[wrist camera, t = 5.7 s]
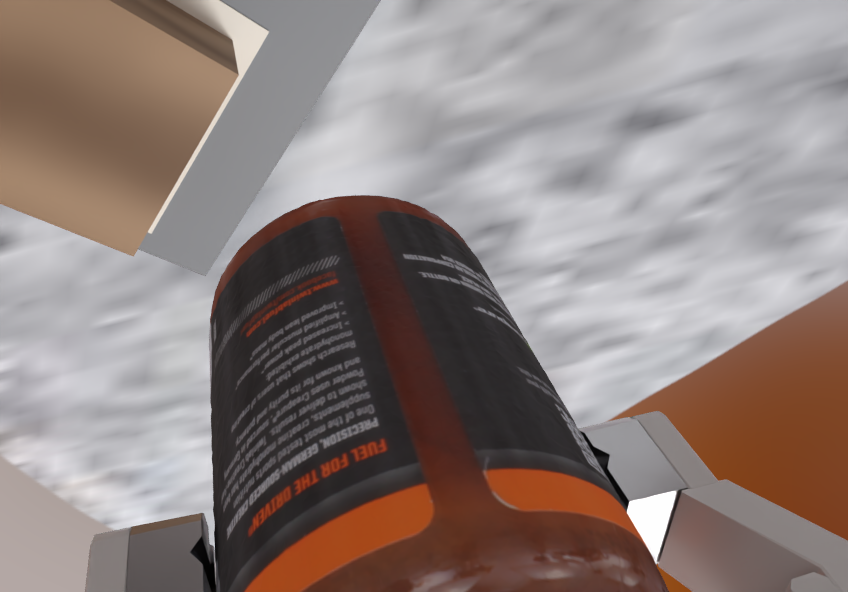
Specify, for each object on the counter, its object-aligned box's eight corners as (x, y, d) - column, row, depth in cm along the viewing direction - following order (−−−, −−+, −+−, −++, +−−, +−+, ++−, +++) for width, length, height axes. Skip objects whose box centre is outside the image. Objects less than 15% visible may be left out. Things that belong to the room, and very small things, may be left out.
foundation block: (3, -99, 23) (-26, -78, 20) (232, 39, 27) (238, 75, 24) (-81, 110, 25) (-119, 156, 22) (138, 205, 30) (133, 256, 26)
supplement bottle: (170, 377, 16) (125, 1164, 7) (268, 138, 13) (408, 887, 4) (406, 424, 18) (600, 1031, 9) (525, 234, 16) (945, 814, 7)
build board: (41, -420, 20) (34, -429, 19) (429, -92, 27) (437, -88, 26) (-154, 116, 26) (-166, 128, 25) (204, 264, 33) (205, 277, 32)
